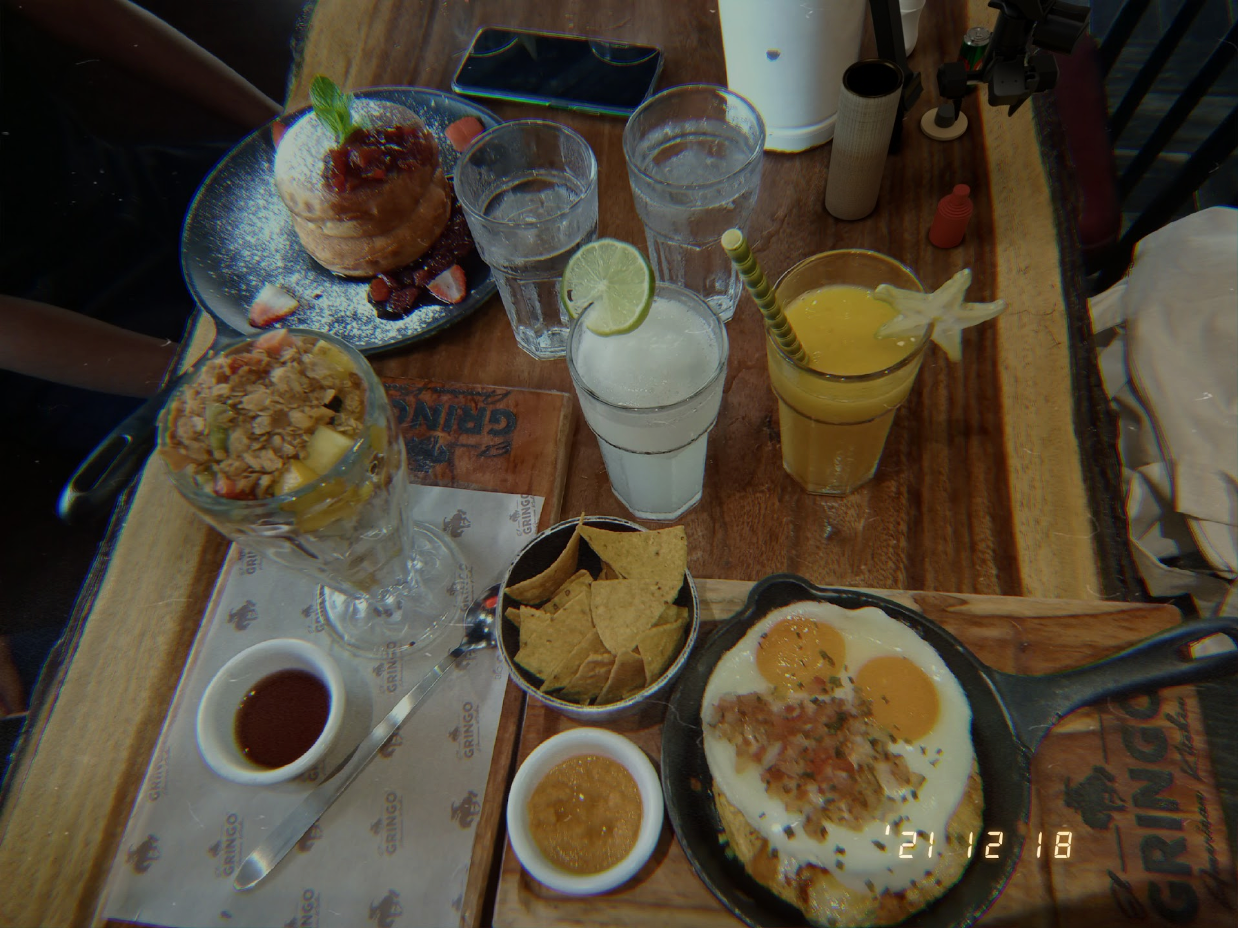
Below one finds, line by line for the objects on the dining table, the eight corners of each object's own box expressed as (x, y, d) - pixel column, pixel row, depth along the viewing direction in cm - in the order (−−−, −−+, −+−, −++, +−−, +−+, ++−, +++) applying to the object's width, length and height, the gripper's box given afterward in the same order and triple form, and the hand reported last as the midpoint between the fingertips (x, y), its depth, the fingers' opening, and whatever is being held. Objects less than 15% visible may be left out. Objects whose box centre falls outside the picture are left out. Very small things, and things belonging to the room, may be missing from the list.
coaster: (923, 142, 150) (923, 139, 150) (918, 112, 154) (919, 108, 153) (969, 139, 149) (970, 135, 148) (963, 108, 153) (964, 105, 152)
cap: (938, 130, 150) (942, 119, 148) (930, 118, 152) (934, 106, 149) (957, 125, 150) (961, 114, 147) (949, 113, 152) (953, 101, 149)
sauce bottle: (930, 249, 138) (946, 203, 128) (926, 225, 141) (941, 178, 131) (964, 247, 137) (982, 201, 127) (959, 223, 140) (977, 176, 130)
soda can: (973, 78, 156) (990, 24, 145) (975, 94, 154) (993, 40, 143) (948, 80, 157) (963, 26, 146) (950, 96, 155) (966, 42, 144)
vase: (878, 186, 147) (907, 58, 122) (872, 223, 143) (900, 99, 118) (828, 182, 149) (846, 56, 124) (821, 219, 145) (838, 95, 121)
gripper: (956, 74, 118) (933, 152, 132) (1082, 63, 115) (1045, 145, 129) (947, 29, 123) (926, 110, 136) (1068, 18, 120) (1034, 102, 133)
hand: (982, 117), depth 134 cm, fingers open, 9 cm apart
